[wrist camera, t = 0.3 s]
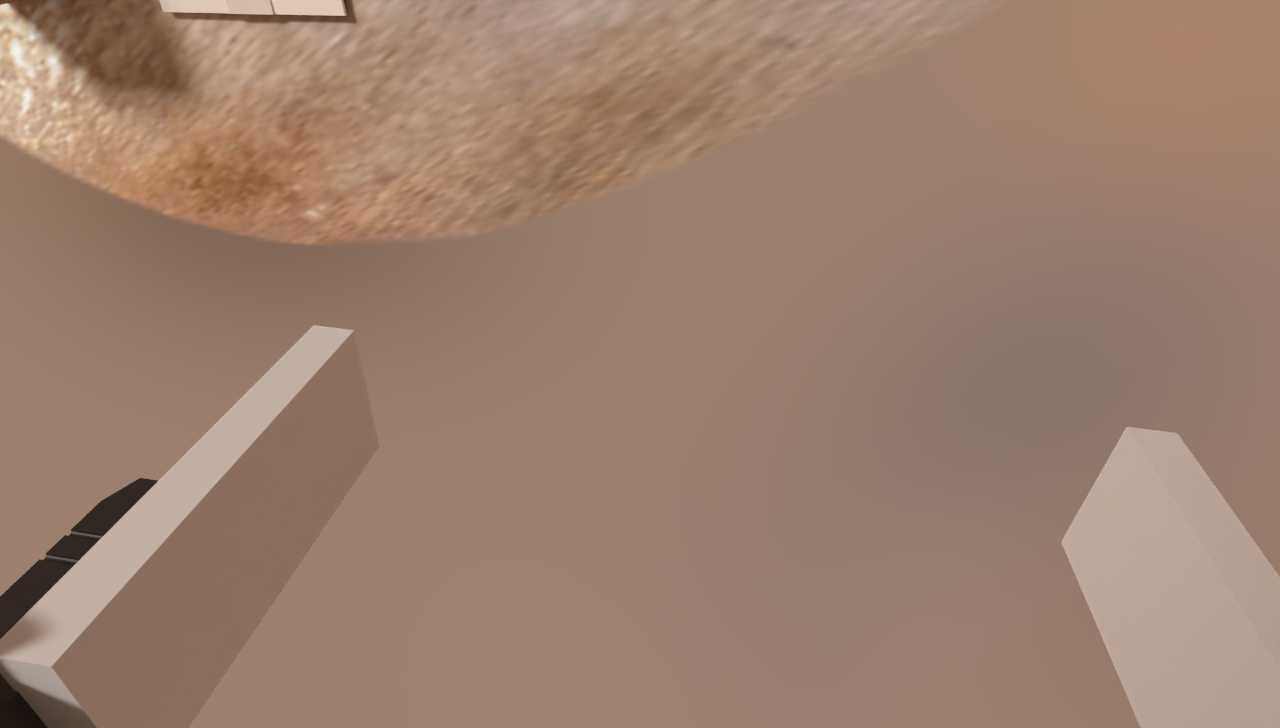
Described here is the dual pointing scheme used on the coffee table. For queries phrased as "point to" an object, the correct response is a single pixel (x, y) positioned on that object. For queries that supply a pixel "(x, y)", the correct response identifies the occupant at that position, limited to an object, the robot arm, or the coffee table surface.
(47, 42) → the coffee table surface
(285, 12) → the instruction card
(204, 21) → the coffee table surface
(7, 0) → the walnut base brick
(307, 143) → the coffee table surface
